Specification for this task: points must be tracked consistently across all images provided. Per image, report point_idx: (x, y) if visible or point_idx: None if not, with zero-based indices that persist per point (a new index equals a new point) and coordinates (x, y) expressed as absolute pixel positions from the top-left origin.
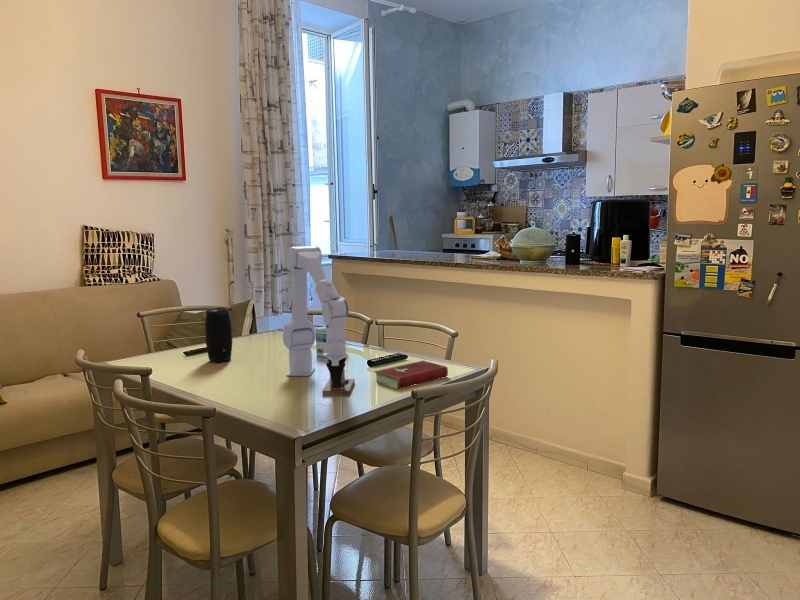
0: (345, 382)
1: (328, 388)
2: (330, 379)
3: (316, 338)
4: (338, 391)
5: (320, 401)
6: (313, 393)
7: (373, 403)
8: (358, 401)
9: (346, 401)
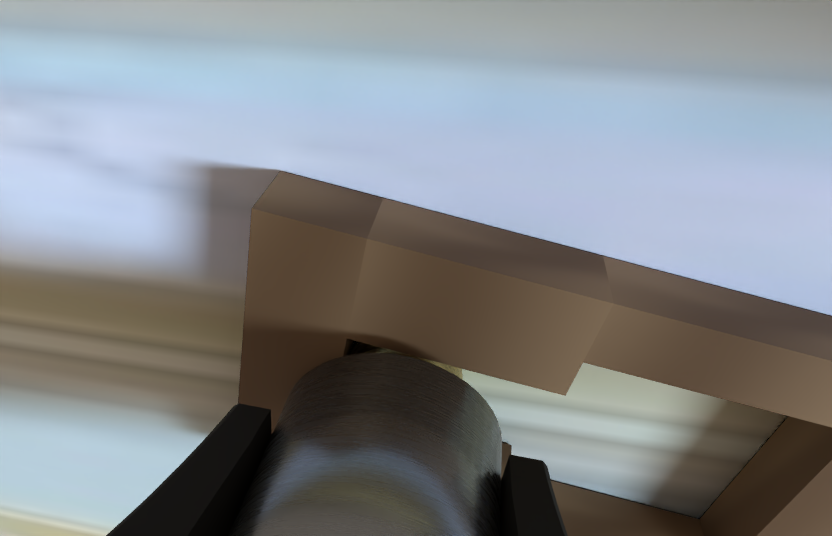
0: (736, 518)
1: (378, 310)
2: (323, 458)
3: None
4: (240, 394)
5: (5, 115)
6: (443, 33)
7: (34, 532)
8: (72, 465)
9: (57, 384)
